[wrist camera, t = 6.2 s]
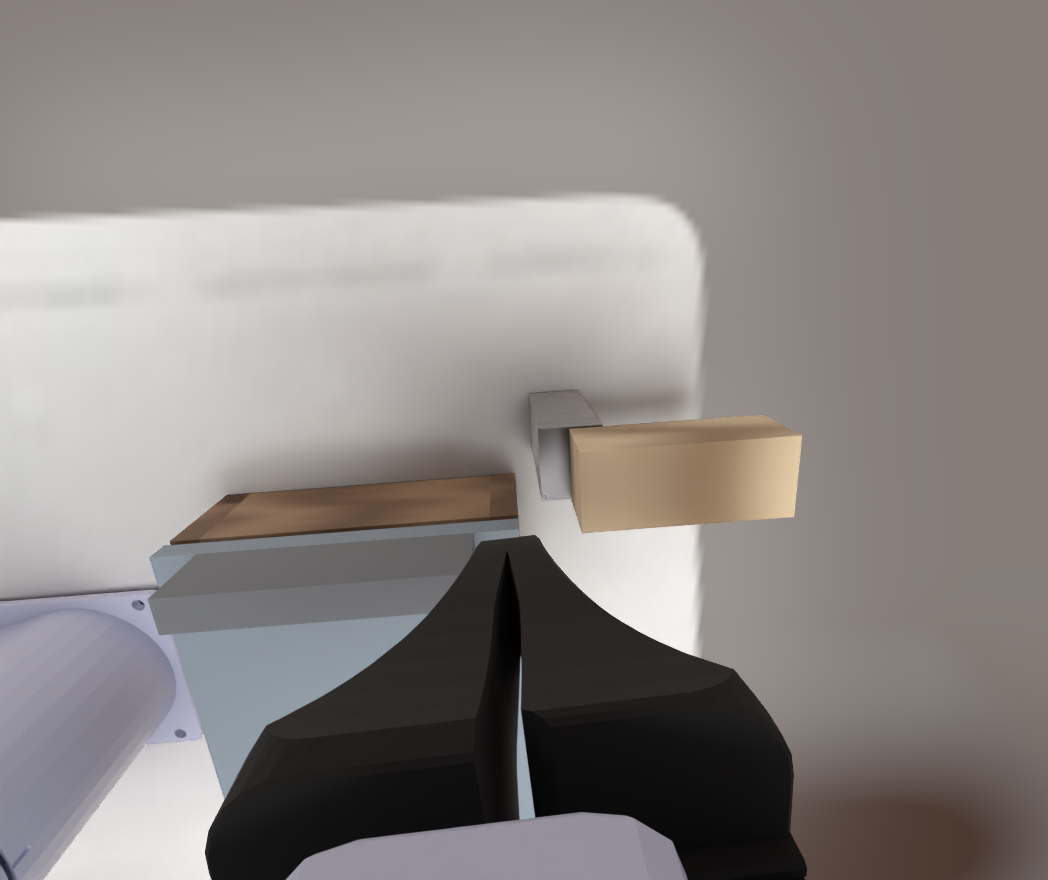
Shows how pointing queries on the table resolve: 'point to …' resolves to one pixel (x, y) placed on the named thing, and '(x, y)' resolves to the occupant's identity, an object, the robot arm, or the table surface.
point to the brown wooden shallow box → (355, 509)
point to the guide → (556, 437)
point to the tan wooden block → (683, 473)
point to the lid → (303, 620)
